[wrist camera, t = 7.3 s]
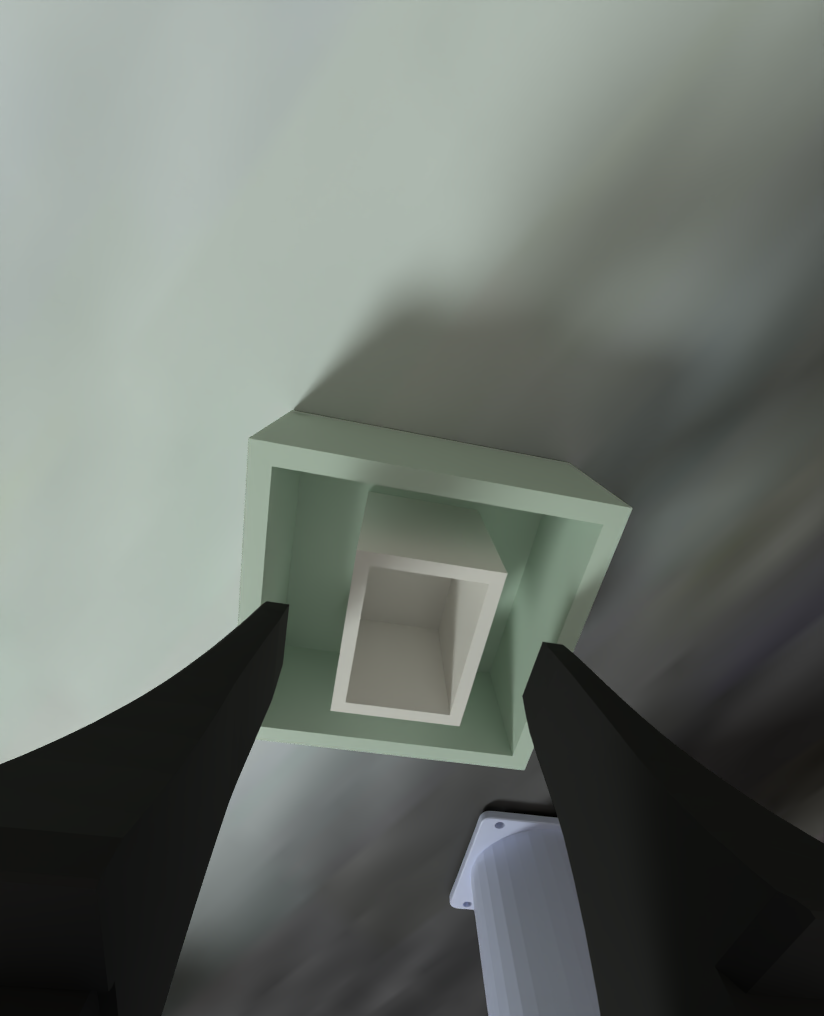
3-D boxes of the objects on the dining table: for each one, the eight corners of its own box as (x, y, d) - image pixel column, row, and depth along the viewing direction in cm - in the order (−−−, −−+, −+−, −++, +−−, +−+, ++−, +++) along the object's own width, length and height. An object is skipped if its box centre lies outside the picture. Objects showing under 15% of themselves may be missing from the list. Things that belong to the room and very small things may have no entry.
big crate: (569, 462, 15) (632, 508, 11) (496, 675, 19) (524, 770, 15) (292, 410, 14) (248, 438, 10) (270, 644, 18) (231, 736, 14)
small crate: (477, 510, 15) (507, 573, 11) (445, 633, 17) (459, 726, 13) (368, 491, 15) (356, 549, 11) (347, 619, 17) (330, 710, 13)
